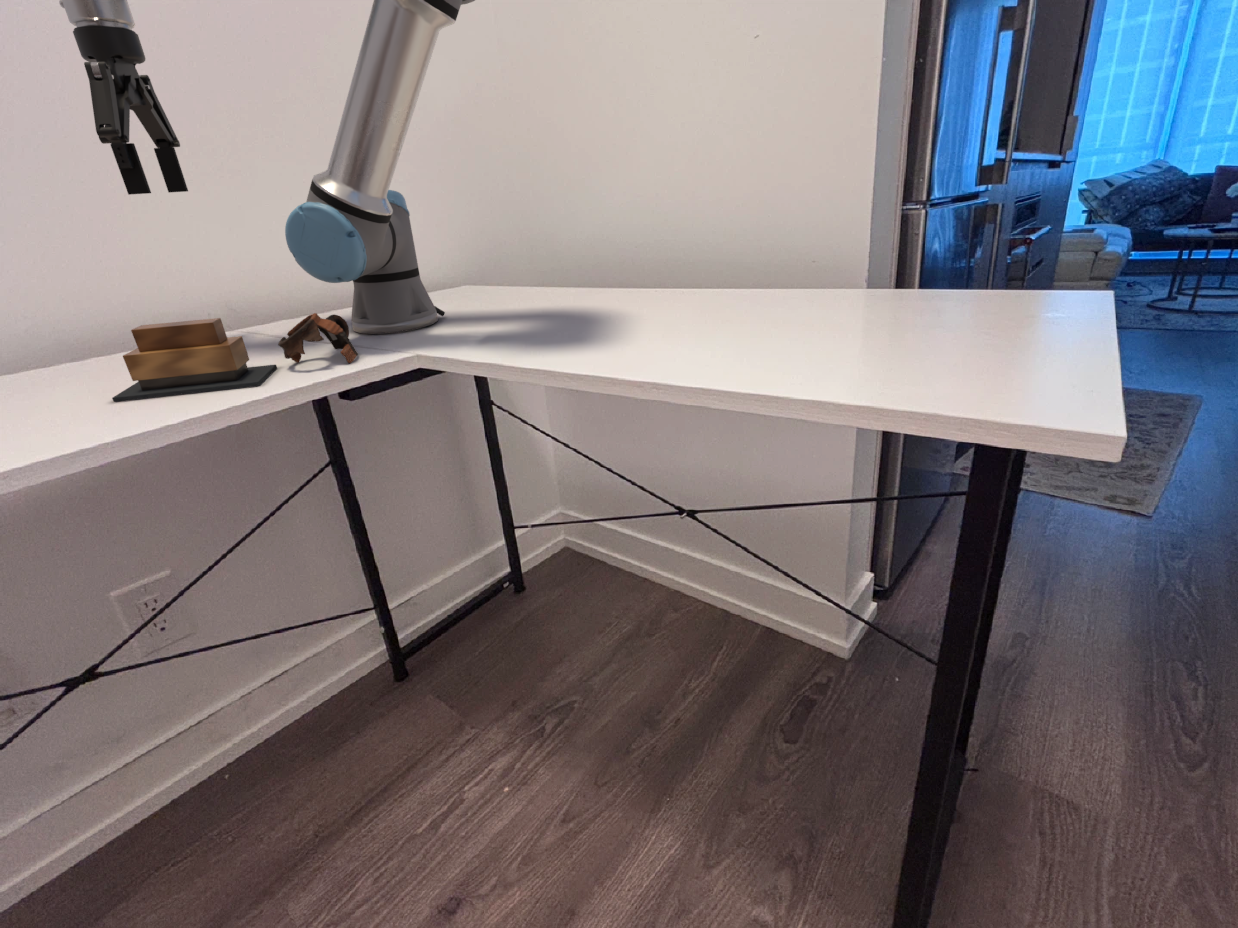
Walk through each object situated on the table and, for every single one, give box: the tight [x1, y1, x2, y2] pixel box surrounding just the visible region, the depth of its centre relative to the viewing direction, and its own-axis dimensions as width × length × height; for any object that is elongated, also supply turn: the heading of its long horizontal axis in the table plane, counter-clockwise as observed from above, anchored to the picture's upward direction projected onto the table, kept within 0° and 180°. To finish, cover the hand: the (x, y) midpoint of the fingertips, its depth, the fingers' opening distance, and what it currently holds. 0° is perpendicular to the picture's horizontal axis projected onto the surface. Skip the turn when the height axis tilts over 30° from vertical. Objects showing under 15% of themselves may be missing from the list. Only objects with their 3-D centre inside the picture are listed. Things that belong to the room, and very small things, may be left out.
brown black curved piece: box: [277, 312, 359, 364], centre depth 95 cm, size 12×10×8 cm
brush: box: [122, 317, 250, 391], centre depth 86 cm, size 13×6×8 cm, turn 102°
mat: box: [111, 364, 278, 403], centre depth 88 cm, size 18×9×1 cm, turn 102°
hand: (160, 193), depth 97 cm, fingers open, 13 cm apart
